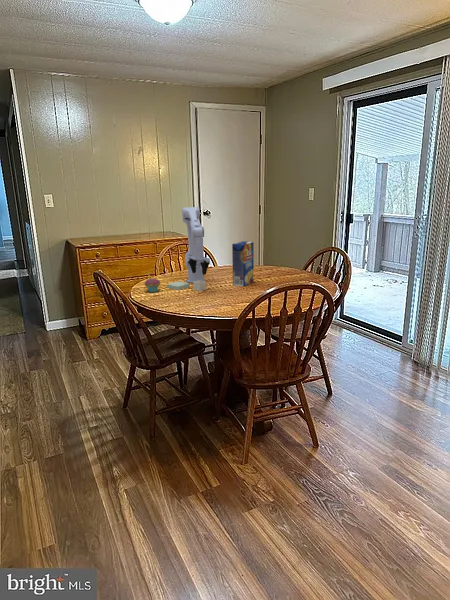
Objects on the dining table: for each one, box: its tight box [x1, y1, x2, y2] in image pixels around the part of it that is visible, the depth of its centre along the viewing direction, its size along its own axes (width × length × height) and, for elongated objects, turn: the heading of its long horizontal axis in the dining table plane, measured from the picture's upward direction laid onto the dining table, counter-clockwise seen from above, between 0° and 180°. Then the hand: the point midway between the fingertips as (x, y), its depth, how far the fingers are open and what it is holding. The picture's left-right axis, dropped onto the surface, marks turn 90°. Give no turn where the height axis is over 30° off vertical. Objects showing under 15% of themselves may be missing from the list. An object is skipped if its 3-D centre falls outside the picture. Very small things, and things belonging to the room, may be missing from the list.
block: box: [193, 280, 207, 292], centre depth 227 cm, size 5×5×5 cm
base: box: [166, 281, 190, 291], centre depth 234 cm, size 9×9×2 cm
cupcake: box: [144, 270, 161, 293], centre depth 226 cm, size 9×8×12 cm
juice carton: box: [231, 240, 255, 287], centre depth 236 cm, size 12×8×24 cm, turn 149°
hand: (199, 273), depth 225 cm, fingers open, 7 cm apart
